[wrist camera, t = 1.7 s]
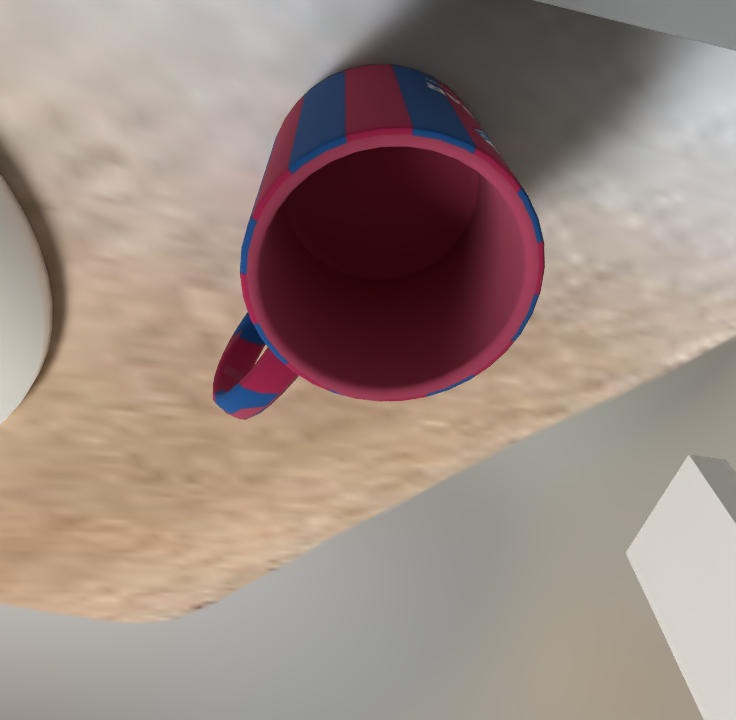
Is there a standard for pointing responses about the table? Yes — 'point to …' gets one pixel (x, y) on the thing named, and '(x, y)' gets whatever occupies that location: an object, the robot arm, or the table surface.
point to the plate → (21, 304)
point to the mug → (380, 248)
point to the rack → (667, 16)
